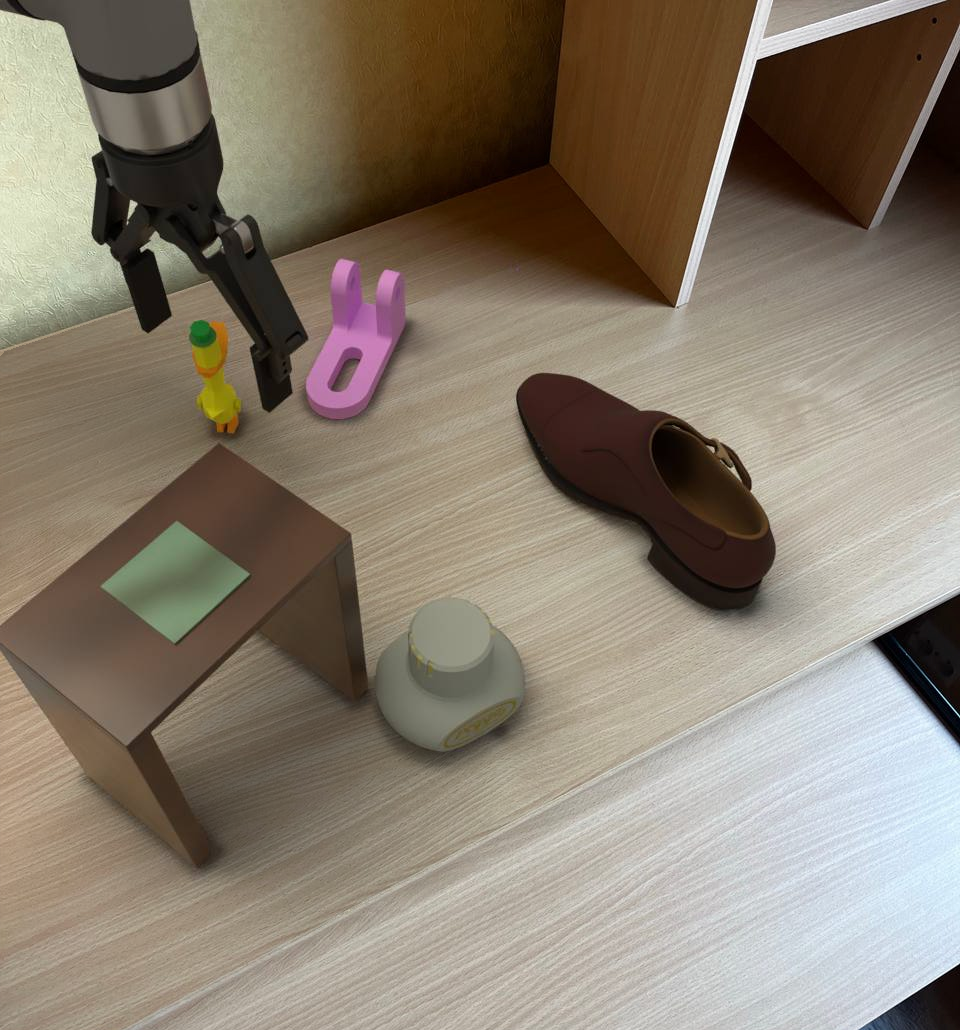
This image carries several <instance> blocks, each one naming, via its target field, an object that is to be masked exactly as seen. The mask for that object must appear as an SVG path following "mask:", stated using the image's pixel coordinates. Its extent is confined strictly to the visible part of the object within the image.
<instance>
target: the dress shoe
mask: <svg viewBox="0 0 960 1030" xmlns="http://www.w3.org/2000/svg"><path fill="white" fill-rule="evenodd" d="M515 401H516V407H517V411H518V415H519V419H520V422H521V424H522V427H523V429H524V432H525V435H526V438H527V440H528V442H529V444H530V447H531V449H532V451H533V453H534V455H535V458H536V460H537V461H538V463H539V465H540V468H541V469H542V471H543V472H544V474H545V475H546V477H547V478H548V479H549V481H550V482H551V483H552V484H553V485H554V486H555V487H556V488H557V489H559V491H561V492H562V493H564V494H565V495H566V496H568V497H570V498H571V499H573V500H574V501H577V502H578V503H580V504H582V505H584V506H586V507H589V508H591V509H593V510H596V511H598V512H601V513H604V514H606V515H609V516H612V517H616V518H619V519H623V520H626V521H629V522H632V523H633V524H636V525H637V526H639V527H640V528H641V529H643V531H645V533H646V534H647V536H648V537H649V540H650V541H651V546H650V549H649V552H648V554H647V558H646V559H647V561H648V562H649V563H650V564H651V566H652V567H653V569H655V570H656V571H657V572H658V573H659V574H661V575H662V576H663V577H664V578H665V579H666V580H667V581H668V582H670V583H671V584H672V585H673V586H675V587H676V588H677V589H679V591H681V592H682V593H684V594H685V595H687V596H688V597H689V598H691V599H693V600H695V601H696V602H697V603H700V604H702V605H704V606H706V607H709V608H711V609H714V610H715V609H716V610H722V611H730V610H739V609H743V608H746V607H748V606H750V604H752V602H753V601H754V600H755V599H756V597H757V595H758V592H759V590H760V587H761V584H762V582H763V579H764V578H765V577H766V575H767V574H768V573H769V571H770V570H771V568H772V567H773V564H774V562H775V559H776V554H777V553H776V552H777V546H776V545H777V544H776V540H775V538H774V533H773V531H772V528H771V524H770V520H769V517H768V515H767V513H766V512H765V510H764V508H763V507H762V505H761V504H760V502H759V500H758V499H757V498H756V497H755V496H754V494H753V492H751V491H752V487H753V482H752V477H751V475H750V473H749V472H748V470H747V468H746V466H745V465H744V464H743V462H742V460H741V459H740V457H739V455H738V453H736V451H735V450H733V448H731V447H730V446H728V445H727V444H725V443H724V442H721V441H720V440H719V439H718V438H715V437H712V438H709V437H706V436H705V435H703V434H702V433H700V431H698V430H697V429H696V428H694V427H693V426H692V425H691V424H690V423H688V422H687V421H685V420H683V419H682V418H679V417H677V416H675V415H672V414H671V413H668V412H665V411H663V410H662V411H661V410H654V409H653V410H651V409H650V410H649V409H648V410H645V409H644V410H640V409H638V408H637V407H636V406H633V405H632V404H630V403H628V402H626V401H625V400H623V399H621V398H619V397H616V396H615V395H613V394H611V393H609V392H607V391H606V390H604V389H602V388H599V387H598V386H597V385H594V384H592V383H591V382H589V381H587V380H584V379H583V378H580V377H577V376H573V375H569V374H561V373H553V372H538V373H534V374H531V375H530V376H528V377H527V378H526V379H525V380H524V381H522V383H521V384H520V385H519V386H518V389H517V390H516V394H515ZM709 447H711V448H713V449H714V452H713V451H712V450H711V448H709ZM732 468H734V469H735V471H736V473H737V475H738V477H737V476H736V474H734V472H732V470H731V469H732Z"/></svg>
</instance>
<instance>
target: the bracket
mask: <svg viewBox="0 0 960 1030" xmlns="http://www.w3.org/2000/svg"><path fill="white" fill-rule="evenodd" d="M361 278H362V277H361V267H360V264H359V263H358V262H357V261H352V260H348V259H343V258H340V259H338V260H337V262H336V264H335V266H334V268H333V271H332V275H331V280H330V289H329V290H330V302H331V310H332V321H333V324H332V325H333V326H332V329H331V331H330V333H329V335H328V337H327V339H326V341H325V343H324V345H323V347H322V348H321V350H320V352H319V355H318V357H317V358H316V360H315V362H314V365H313V366H312V368H311V370H310V371H309V374H308V375H307V378H306V381H305V389H306V396H307V402H308V404H309V406H310V408H311V409H312V410H313V411H314V412H315V413H316V414H317V415H320V416H322V417H324V418H327V419H332V420H344V419H345V420H346V419H350V418H352V417H355V416H357V415H358V414H360V413H362V412H363V411H364V410H365V409H366V408H367V406H368V405H369V403H370V401H371V399H372V397H373V395H374V393H375V391H376V388H377V386H378V384H379V382H380V380H381V378H382V375H383V374H384V371H385V369H386V367H387V365H388V363H389V361H390V358H391V356H392V355H393V353H394V350H395V348H396V346H397V344H398V341H399V340H400V337H401V336H402V334H403V330H404V329H405V326H406V324H407V323H406V320H407V319H406V318H407V317H406V289H405V287H406V286H405V275H404V273H403V272H399V271H394V270H391V269H384V271H383V272H382V273H381V276H380V277H379V280H378V283H377V287H376V293H375V304H372V303H367V302H364V301H363V293H362V291H363V289H362V279H361ZM350 359H356V360H360V361H359V363H358V365H357V367H356V370H355V371H354V373H353V375H352V378H351V380H350V381H349V383H348V385H347V387H346V388H345V389H344V390H342V391H333V390H332V388H333V386H334V384H335V382H336V381H337V378H338V376H339V374H340V372H341V371H342V369H343V366H344V364H345V362H346V361H348V360H350Z"/></svg>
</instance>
